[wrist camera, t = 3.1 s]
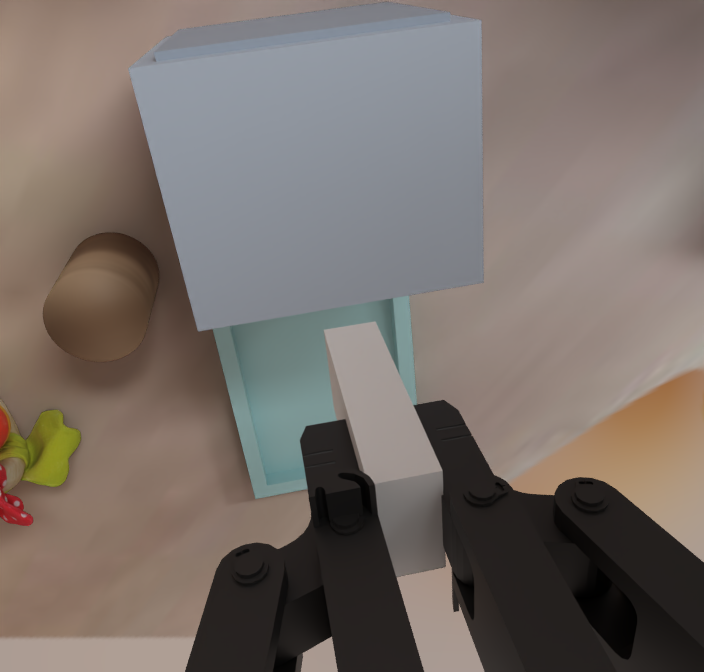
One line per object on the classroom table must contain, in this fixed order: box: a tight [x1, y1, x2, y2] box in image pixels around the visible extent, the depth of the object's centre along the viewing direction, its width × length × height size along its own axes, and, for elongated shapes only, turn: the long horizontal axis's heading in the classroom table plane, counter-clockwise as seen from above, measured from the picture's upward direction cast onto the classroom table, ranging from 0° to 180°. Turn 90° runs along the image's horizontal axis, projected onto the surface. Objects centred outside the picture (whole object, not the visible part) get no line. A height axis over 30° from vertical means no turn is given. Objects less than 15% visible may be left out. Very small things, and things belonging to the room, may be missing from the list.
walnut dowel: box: [43, 233, 159, 362], centre depth 35 cm, size 5×5×6 cm
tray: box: [213, 296, 417, 499], centre depth 42 cm, size 17×12×2 cm
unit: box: [128, 2, 484, 331], centre depth 30 cm, size 11×12×13 cm
